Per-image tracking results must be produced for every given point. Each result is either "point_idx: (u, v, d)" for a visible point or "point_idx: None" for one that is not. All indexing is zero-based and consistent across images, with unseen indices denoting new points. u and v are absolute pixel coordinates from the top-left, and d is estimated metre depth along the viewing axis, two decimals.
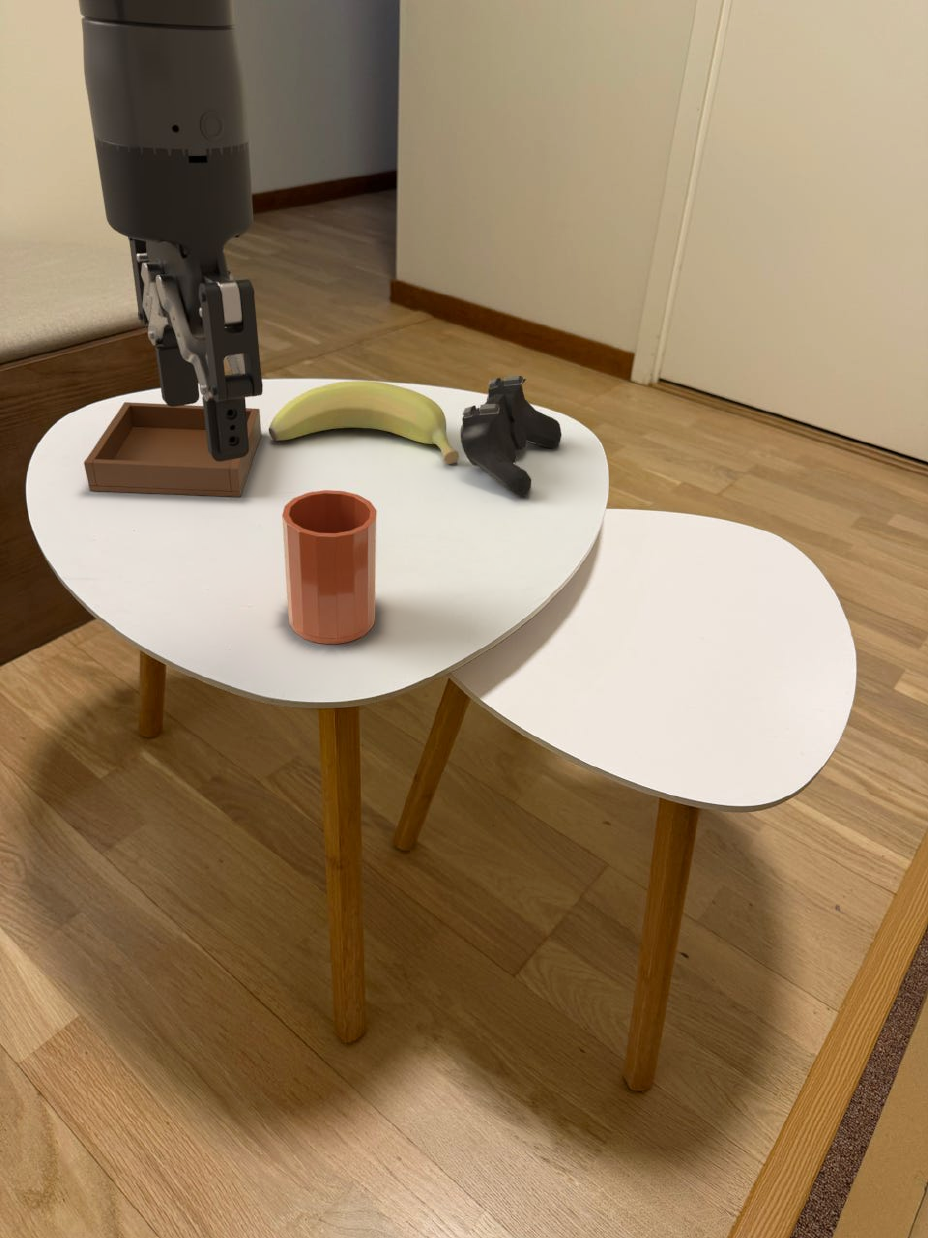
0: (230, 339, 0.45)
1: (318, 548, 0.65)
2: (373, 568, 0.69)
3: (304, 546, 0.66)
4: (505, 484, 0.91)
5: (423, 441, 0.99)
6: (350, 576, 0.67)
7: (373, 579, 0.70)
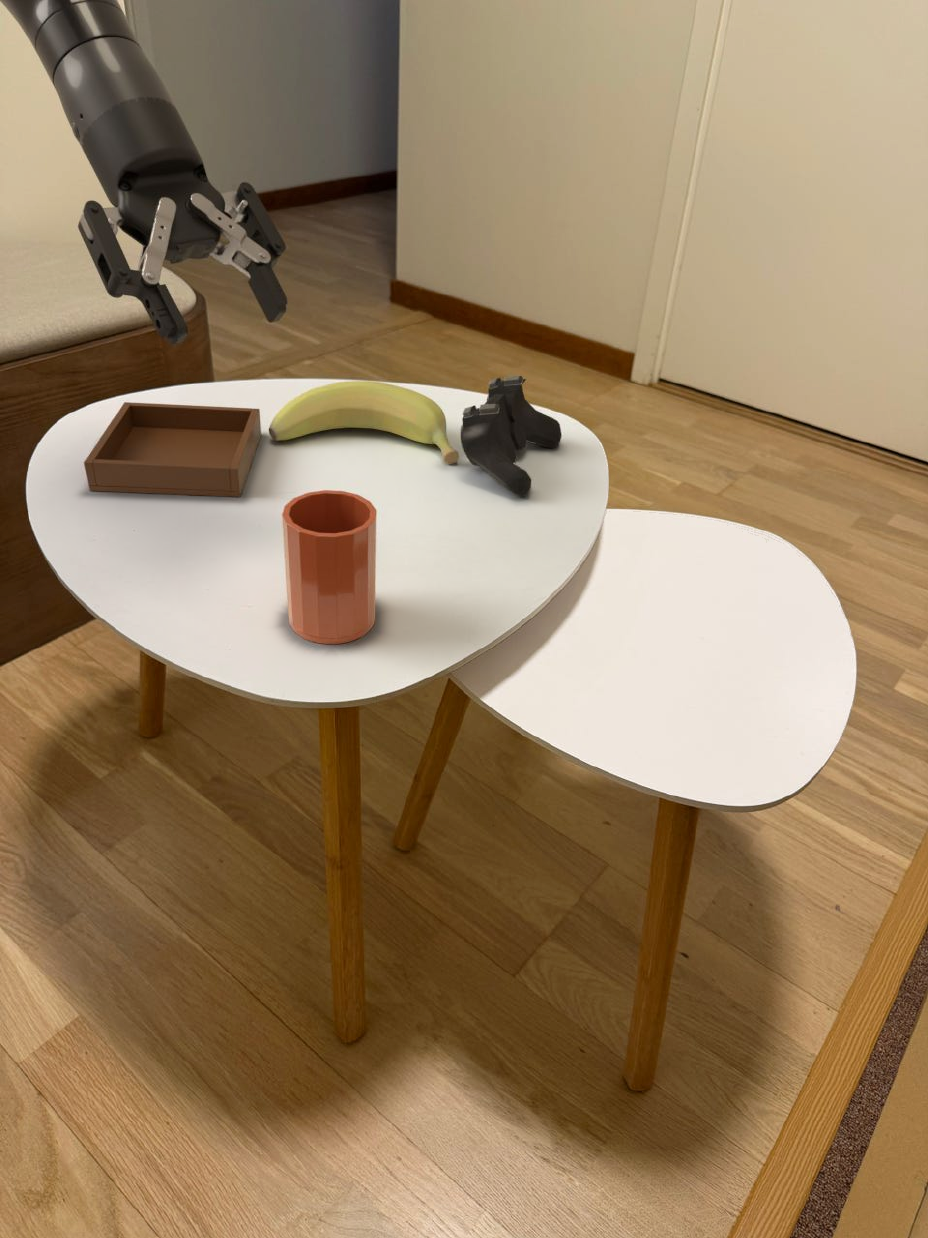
0: None
1: (318, 548, 0.65)
2: (373, 568, 0.69)
3: (304, 546, 0.66)
4: (505, 484, 0.91)
5: (423, 441, 0.99)
6: (350, 576, 0.67)
7: (373, 579, 0.70)
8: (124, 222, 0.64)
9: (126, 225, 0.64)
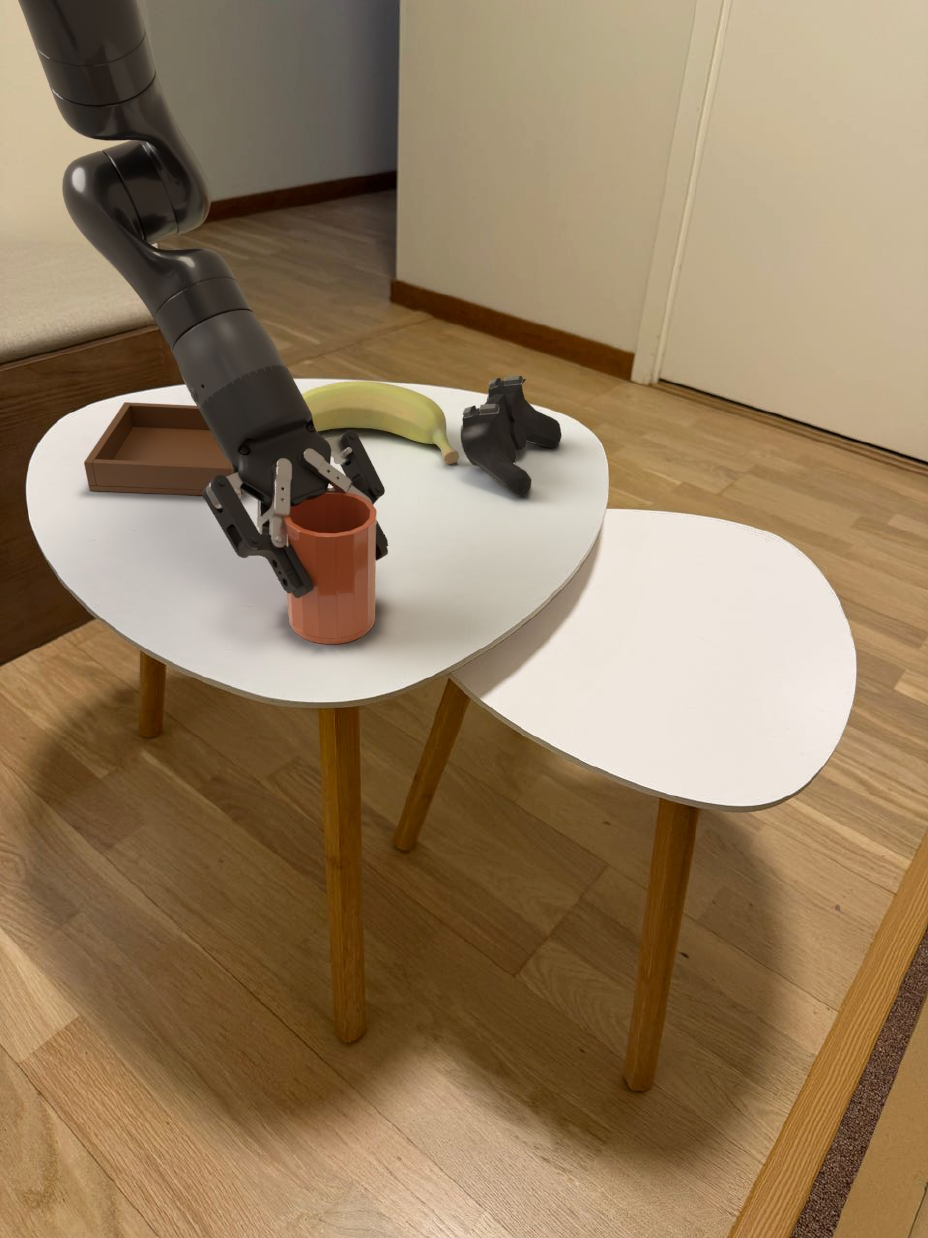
0: None
1: (318, 548, 0.65)
2: (373, 568, 0.69)
3: (304, 546, 0.66)
4: (505, 484, 0.91)
5: (423, 441, 0.99)
6: (350, 576, 0.67)
7: (373, 579, 0.70)
8: (243, 483, 0.67)
9: (244, 483, 0.67)
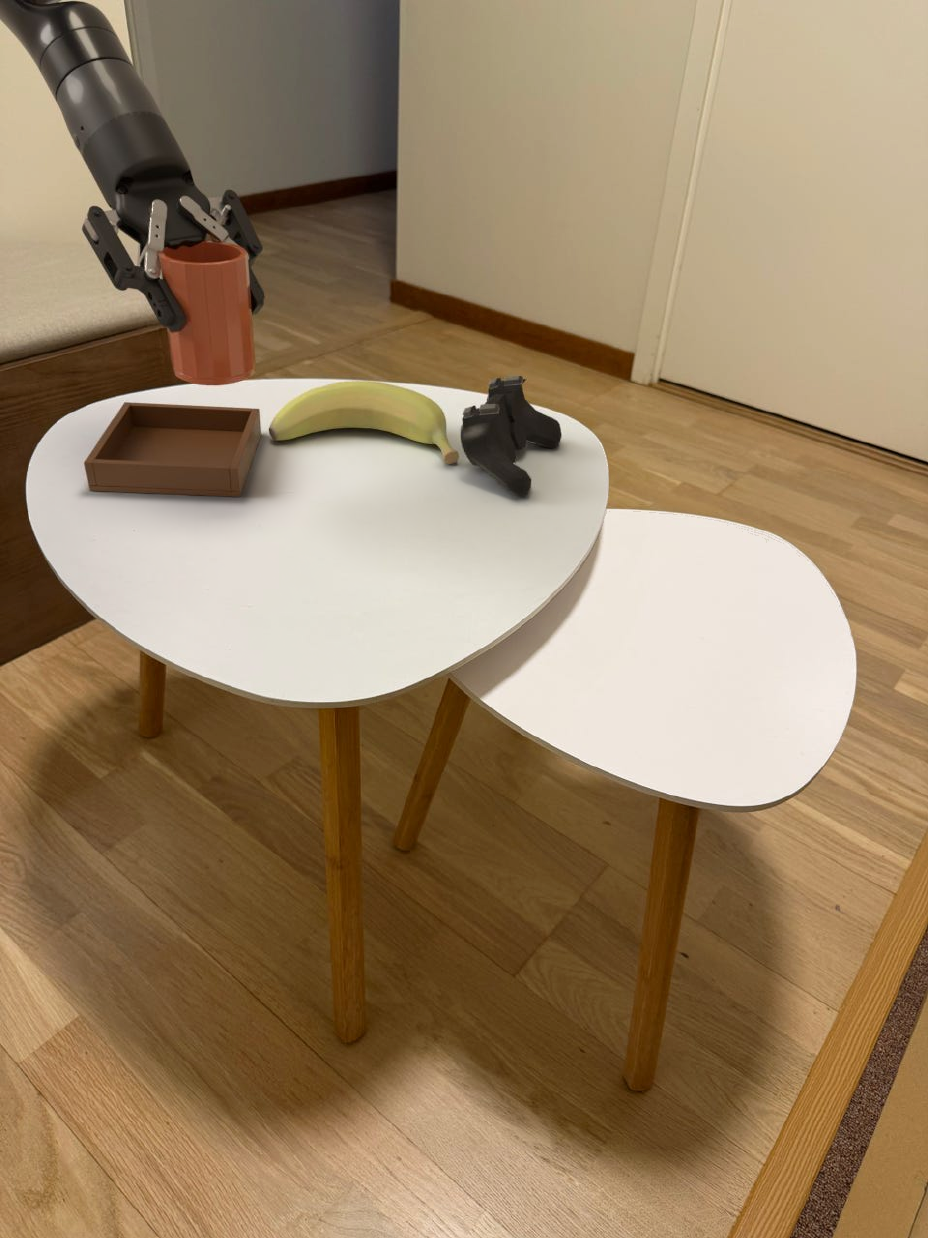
0: None
1: (188, 277, 0.71)
2: (246, 311, 0.75)
3: (175, 276, 0.71)
4: (505, 484, 0.91)
5: (423, 441, 0.99)
6: (221, 311, 0.73)
7: (247, 323, 0.75)
8: (121, 221, 0.72)
9: (123, 224, 0.73)
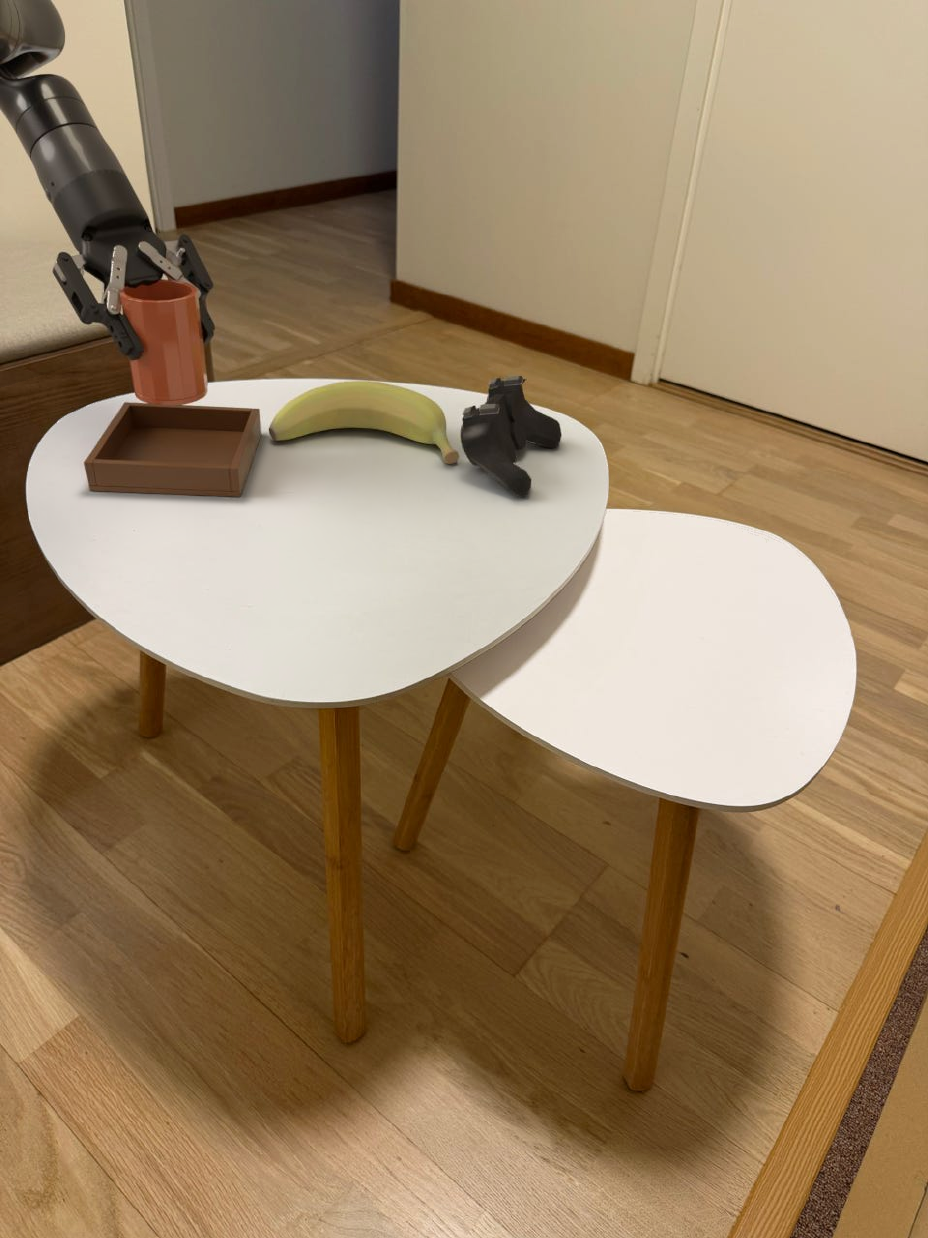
0: None
1: (144, 313, 0.81)
2: (197, 340, 0.85)
3: (133, 312, 0.82)
4: (505, 484, 0.91)
5: (423, 441, 0.99)
6: (175, 341, 0.83)
7: (199, 351, 0.86)
8: (87, 264, 0.83)
9: (89, 266, 0.83)
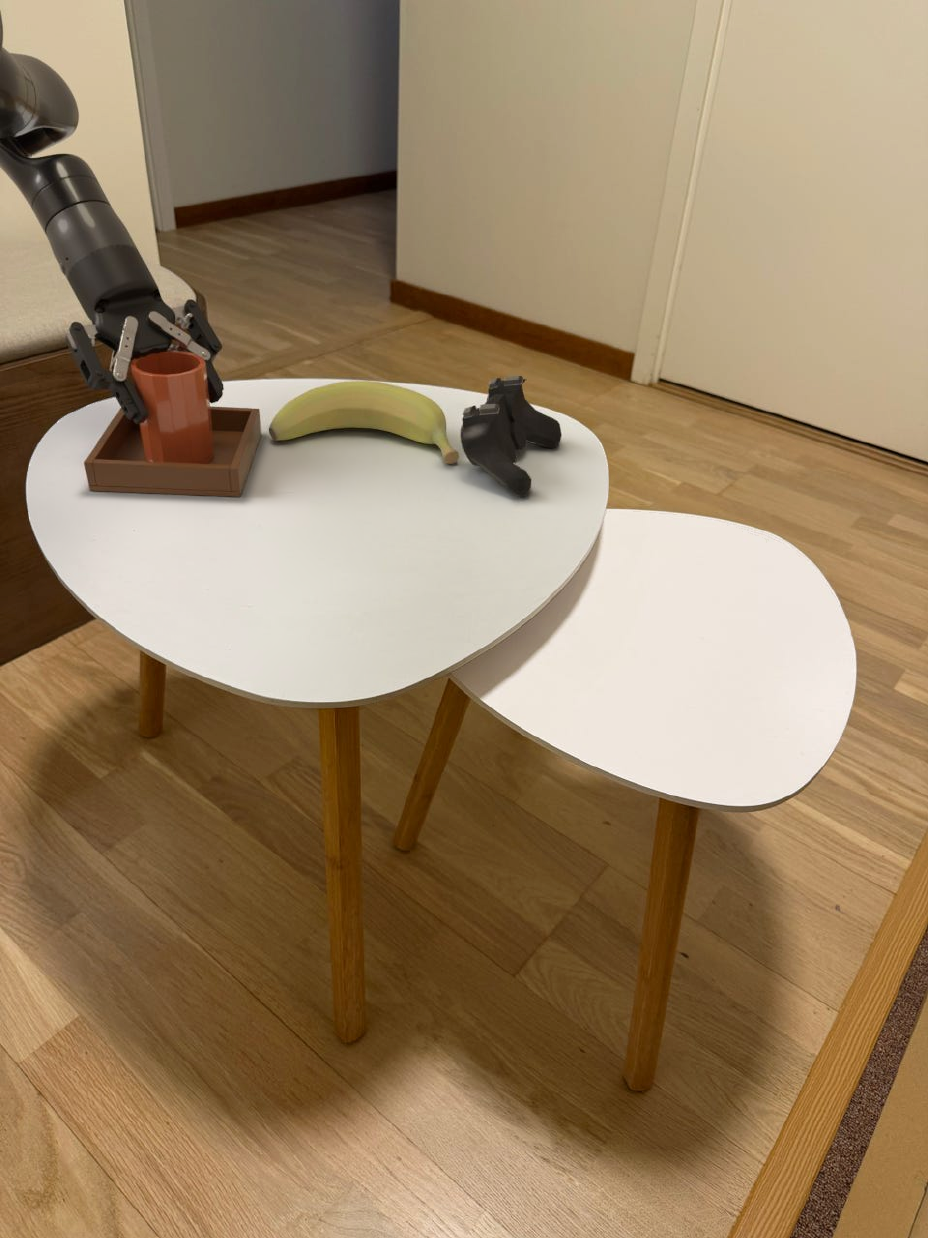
0: None
1: (155, 386, 0.85)
2: (205, 409, 0.90)
3: (144, 385, 0.86)
4: (505, 484, 0.91)
5: (423, 441, 0.99)
6: (183, 412, 0.87)
7: (206, 419, 0.90)
8: (99, 335, 0.87)
9: (101, 336, 0.87)
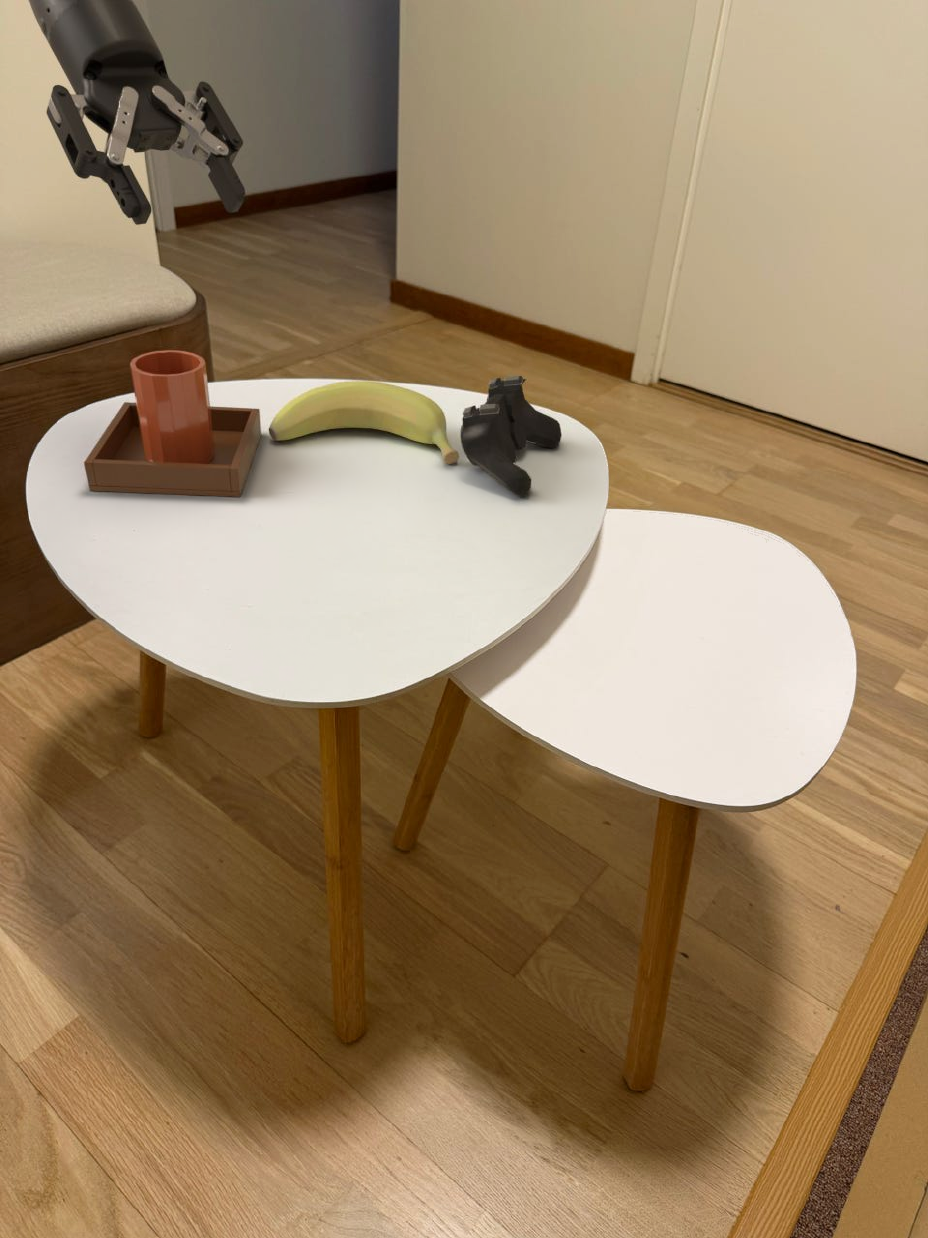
0: None
1: (155, 386, 0.85)
2: (205, 409, 0.90)
3: (144, 385, 0.86)
4: (505, 484, 0.91)
5: (423, 441, 0.99)
6: (183, 412, 0.87)
7: (206, 419, 0.90)
8: (90, 109, 0.68)
9: (92, 113, 0.69)
